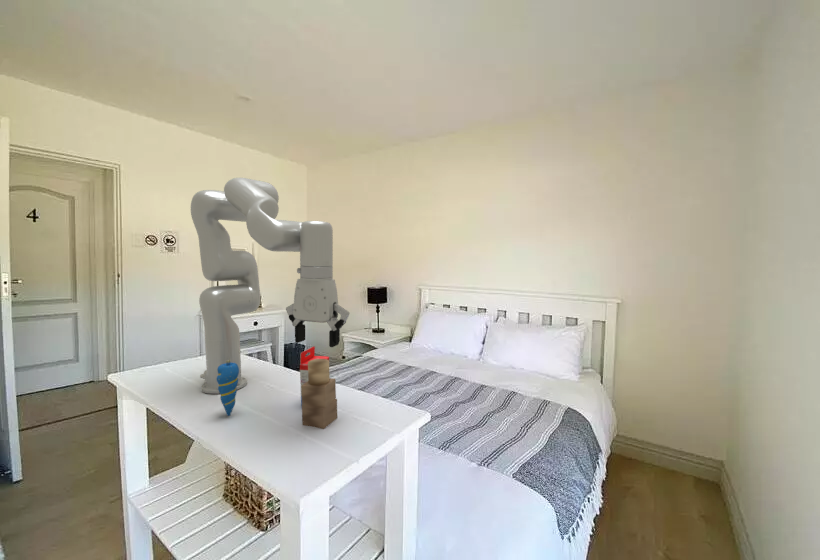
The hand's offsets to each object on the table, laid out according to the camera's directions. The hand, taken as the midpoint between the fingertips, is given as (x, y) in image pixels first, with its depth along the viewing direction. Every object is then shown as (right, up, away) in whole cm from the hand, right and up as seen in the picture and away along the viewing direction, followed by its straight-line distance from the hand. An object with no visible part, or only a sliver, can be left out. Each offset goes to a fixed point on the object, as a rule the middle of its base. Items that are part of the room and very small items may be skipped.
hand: (316, 343), depth 87 cm
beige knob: (0, -9, 0) cm, 9 cm away
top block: (0, -14, +1) cm, 14 cm away
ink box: (-4, -19, +13) cm, 23 cm away
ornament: (-24, -19, +5) cm, 31 cm away
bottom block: (+1, -19, +1) cm, 19 cm away
